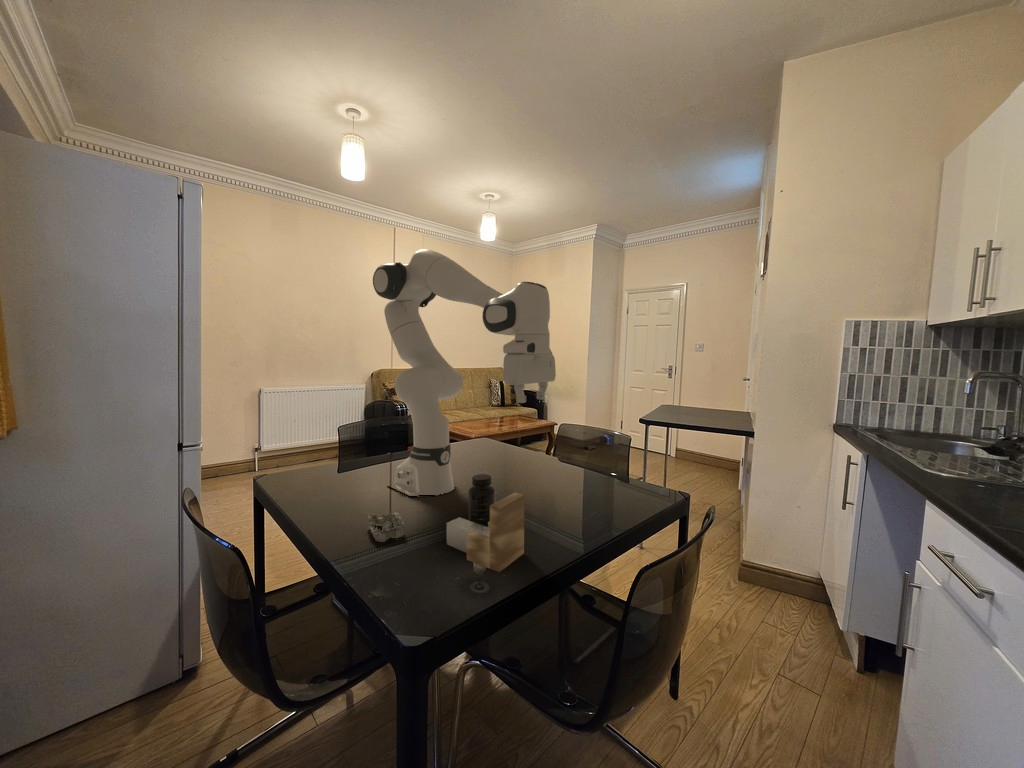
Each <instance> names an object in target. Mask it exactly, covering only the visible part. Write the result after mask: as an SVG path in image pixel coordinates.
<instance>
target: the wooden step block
mask: <svg viewBox="0 0 1024 768" xmlns="http://www.w3.org/2000/svg"><path fill="white" fill-rule="evenodd" d="M488 528H490V537H488V536H485V535H482V534H479V533H476V532H473V531H472V532H470V533H468V534H467V553H466V560H467V561H469V562H471V563H475V564H476V565H479V566H481V567H485V568H487V569H490V570H493V571H494V572H498V573H501V572H502V571H504V570H505V569H506V568H507V567H508V566H510V565H511V564H512V563H514V562H515V561H516V560H517V559H518V558H520V557H522V556H523V555H524V554H525V494H523V493H518V492H514V493H512V494H509V495H507V496H505V497H503V498H502V499H500V500H498V501H495V503H494V504H492V505H490V521H489V522H488Z"/></svg>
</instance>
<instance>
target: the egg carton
mask: <svg viewBox="0 0 1024 768" xmlns="http://www.w3.org/2000/svg"><path fill="white" fill-rule="evenodd" d="M367 517H368V521H367V529H368V528H370V529H371V531H370V534H371V533H374V536H373V539H374V538H375V539H380V540H386V538H387V537H392V536H393V537H396V538H398V537H401V535H403V534H404V535H405V522H404V520H403V518H402V517H401V515H400V513H399V512H398V511H397V512H393V513H390V512H389V513H388V514H384V513H383V514H382V515H381V516H380V517H378V516H377V514H370V512H368V513H367ZM386 521H391V522H393V524H392V523H391V522H389V523H385V522H386ZM375 523H377V524H382V527H381V528H382V532H380V531H379V529H378V528H379V527H377V526H375ZM393 526H394V528H393ZM401 538H402V537H401Z"/></svg>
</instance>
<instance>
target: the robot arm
mask: <svg viewBox="0 0 1024 768" xmlns="http://www.w3.org/2000/svg"><path fill="white" fill-rule="evenodd" d="M372 285H373V286H372V287H373V289H374V292H375V293H376V294H377V295H378V296H379V297H381V298H383V299H386V300H389V302H388V303H386V304H385V306H384V318H385V322H386V326H387V329H388V332H389V334H390V337H391V339H392V342H393V344H394V347H395V349H396V350H397V353H398V356H399V358H400V359H401V360H402V361H404V362H405V363H407V364H408V365H409V366H410V367H411V368H408V369H404V370H402V371H400V372H399V373H398V374H397V376H396V377H395V381H394V390H395V394H396V395H397V398H398V399H399V400H401V402H403V403H404V404H405V405H406V407H407V409H408V412H409V413H410V417H411V421H412V422H411V423H412V428H413V429H412V430H413V431H412V432H413V433H412V434H413V435H412V436H413V445H411V446H408V447H407V451H408V452H409V451H410V454H409V456H408V457H407V458H406V459H405V460H404V461H402V462H401V463H400V464H398V465H397V467H396V468H395V472H394V479H395V482H394V483H396V487H397V488H398V489H400V490H401V491H403V492H405V493H407V494H409V495H435V496H439V495H440V494H441V495H445V494H447V493H450V492H452V491H453V490H454V489H455V488H454V487H455V484H454V478H453V473H452V465H451V455H452V452H451V451H452V447H451V443H450V421H449V419H448V418H447V417H446V416H445V414H444V415H443V413H442V411H441V407H440V404H439V402H440V401H444V400H449V399H452V398H454V397H456V396H457V395H460V393H461V392H462V390H463V389H464V388H463V387H464V378H463V376H462V374H461V372H460V371H459V370H457V369H456V368H455V367H454V366H452V365H451V364H449V362H448V361H447V360H446V359H445V357H443V355H442V354H441V353H440V351H438V349H437V348H436V346H435V345H434V343H433V341H432V339H431V337H430V334H429V333H428V330H427V328H426V325H425V324H424V321H423V319H422V317H421V315H420V311H419V308H426V307H427V306H428V304H429V303H430V302H431V301H433V300H434V299H435V297H436V296H438V297H440V298H443V299H445V300H447V301H452V302H458V303H464V304H469V305H474V306H477V307H479V308H483V310H482V323H483V325H484V327H485V328H486V329H487V331H488V332H490V333H493V334H497V335H505V336H513V337H514V339H512V340H511V341H508V342H507V343H504V345H503V346H502V347H503V348H502V351H503V353H504V354H505V355H504V357H503V365H502V366H503V368H502V369H503V381H504V383H505V384H506V385H507V386H513V387H514V388H513V389H514V392H515V394H516V402H517V403H518V404H524V403H526V402H527V395H525V392H524V391H525V390H524V389H525V385H531V384H537V386H538V389H537V392H536V399H537V400H541V401H542V400H545V398H546V392H547V389H548V385H549V384H548V383H549V382H554V381H555V380H556V375H557V373H556V371H557V370H556V359H555V356H554V354H553V352H552V350H551V347H550V344H551V343H550V341H551V340H550V338H551V335H550V333H551V332H550V331H549V330H550V329H549V322H550V318H551V305H550V294H549V290H548V288H547V287H546V286H545V285H543V284H540V283H538V282H536V283H535V282H533V281H521V282H520V281H519V282H518V283H517V284H516V285H515V286H514V288H513V289H511V290H509V291H508V292H506V293H504V294H503V293H501V292H499V291H498V290H496V289H495V288H493V287H490V285H488V284H486V283H485V282H483V281H482V280H480V279H479V278H478V277H477V276H475V275H473V274H472V273H471V272H469V271H468V270H467V269H466V268H465V267H463V266H461V265H460V264H459V263H458V262H457V261H455V260H453V259H451V258H450V257H448V256H446V255H444V254H442V253H440V252H437V251H434V250H431V249H427V248H423V249H419V250H417V251H415V252H414V254H413V255H412V256H411V259H410V261H409V262H408V263H406V264H402V263H401V262H400V261H397V262H391V263H385V264H380V265H379V266H378V267H377V268H375V271H374V273H373V275H372ZM409 492H411V493H409ZM444 493H445V494H444ZM441 495H440V496H441Z"/></svg>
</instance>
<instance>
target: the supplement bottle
mask: <svg viewBox="0 0 1024 768" xmlns="http://www.w3.org/2000/svg"><path fill="white" fill-rule="evenodd" d="M471 478H472V479H471V484H472V486H471V487H469V489H468V495H467V496H468V521H471V522H474V523H477V524H480V525H483V526H485V527H488V522H489V521H490V505H492V504H494V503H496V489H495V487H494V486H493V485H492V475H490V474H487V473H486V474H485V473H479V474H478V473H477V474H475V475H473V476H472V477H471Z"/></svg>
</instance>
